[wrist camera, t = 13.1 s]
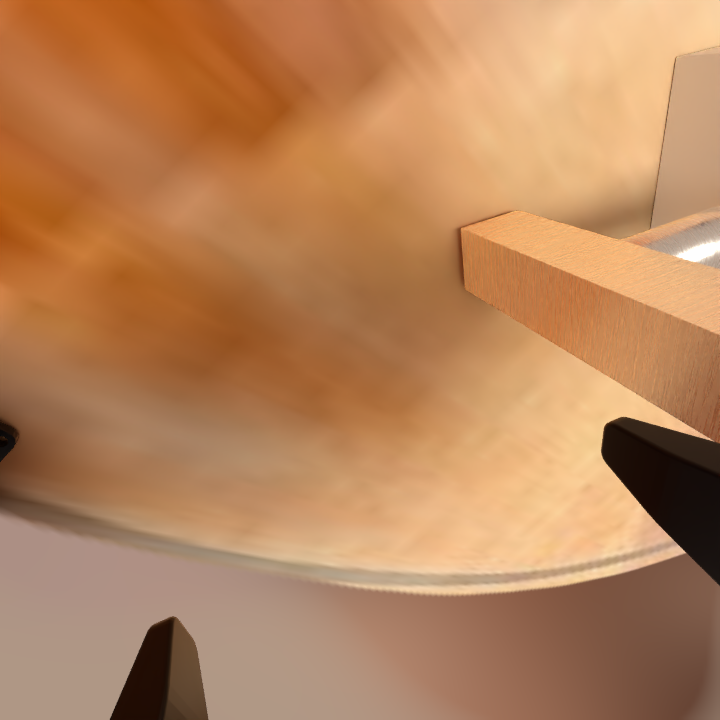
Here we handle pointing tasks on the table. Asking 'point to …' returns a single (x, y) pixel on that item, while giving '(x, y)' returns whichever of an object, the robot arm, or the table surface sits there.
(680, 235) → the grey piece
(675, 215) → the block
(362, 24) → the table surface
